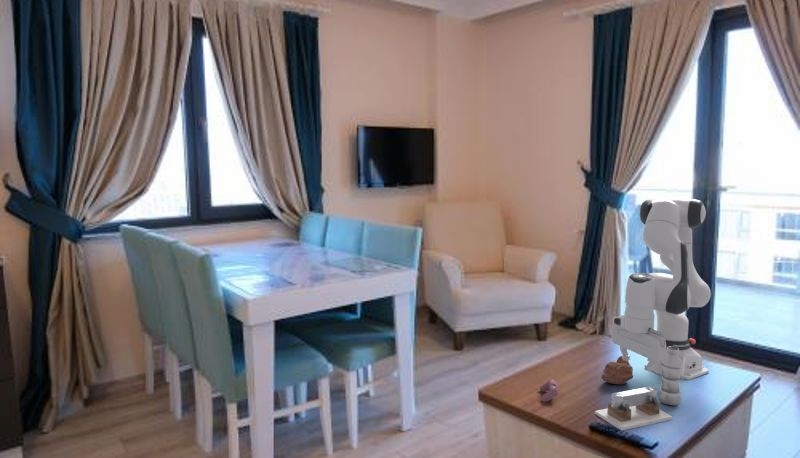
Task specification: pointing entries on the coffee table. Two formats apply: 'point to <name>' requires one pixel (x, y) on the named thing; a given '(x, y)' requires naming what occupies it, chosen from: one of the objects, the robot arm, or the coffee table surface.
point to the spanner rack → (634, 415)
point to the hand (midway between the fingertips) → (636, 365)
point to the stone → (618, 372)
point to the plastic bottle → (671, 377)
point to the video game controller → (552, 388)
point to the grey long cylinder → (633, 397)
